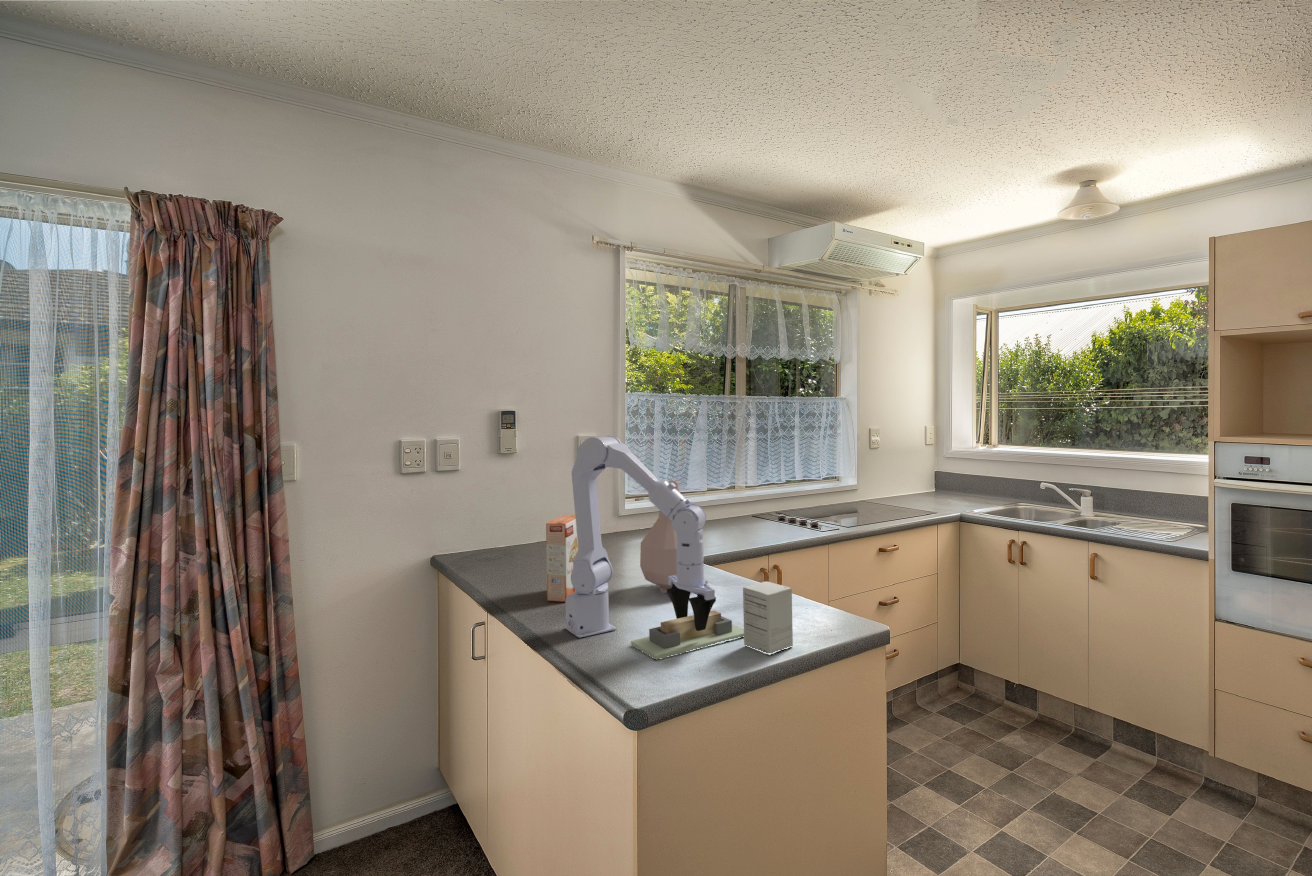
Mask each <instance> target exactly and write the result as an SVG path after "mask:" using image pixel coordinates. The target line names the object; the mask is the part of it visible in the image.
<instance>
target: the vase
mask: <svg viewBox="0 0 1312 876" xmlns="http://www.w3.org/2000/svg"><path fill="white" fill-rule="evenodd" d="M667 481H668V480H667ZM668 482H669V483H672V482H673V483H674V484H675V485H676V487H675V489H676V490H677V491H678V492H680V481H677V480H675V481H674V480H669V481H668ZM676 541H677V533H676V532H675V530H674V529H673V527H672V520H670V519H668V518H667V517H666V516H665V515H664V514H663V513H662V512H661V511H660V510H659V511H658V518H657V519H656V521H655V522H654V523H653V525H652V526H651V528H650V529H649V531H648V532H647V534H646V535H645V536H644V537H643V538H642V540H641V541H640V556H639V557H640V558H639V559H640V561H639V562H640V565H639V567H640V569H641V572H642V574H643V577H644V580H646V581H648V582H649V583H651V584H654V586H655V585H656V586H658V587H659V588H660V592H661V593H663V592H664V593H665V594H667V589H670V588H672V586H670V585H668V576H673V575H677V543H676Z"/></svg>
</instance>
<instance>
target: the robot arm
mask: <svg viewBox="0 0 1312 876" xmlns="http://www.w3.org/2000/svg"><path fill="white" fill-rule="evenodd" d="M576 452H577V453H576V458H575V460H574V464H573V467H572V469H571V483H572V493H573V495H572V496H573V505H574V515H575V517H576V528H577V539H578V551H577V553H576V555H575V557H574V560H573V571H572V573H571V583H572V585H573V587H574V588H575V589H576V592H575V593H573V594H569V595H568V596H567V597H566V602H564V603H565V626H564V629H565V630H567V631H568V632H570V634H573V635H574V636H575V637H577V638H583V637H589V636H593V635H598V634H602V633H607V632H611V631H616V630H617V627H616V626H615V625H613V624H611V623H610V614H609V613H610V611H609V609H610V608H609V607H610V605H609V581H610V580H611V579H612V577H613V575H614V570H613V566H612V563H611V562H610V559H609V555H608V551H607V550H606V548H605V547H604V546H603V543H602V533H601V521H600V520H601V519H600V509H599V508H600V507H599V498H598V497H599V496H598V488H597V487H598V485H597V477H599V476H600V474H601V473H603V472H604V470H605V469H606V468H612V469H613V468H614V469H621V470H622V471H623V472H624V473H626V474H627V475H628V476H629V477H630V478H632V480H633V481H635V482H636V483H638V484H639V486H640V487H642V488H643V489H644V490H645V491H646V492H647V494H648V500H649V502H651V504H652V505H654V506H655V507H656V508H657V509H658V510H659V512H660V511H661V512H662V513H663V514H664V515H665V516H666V517H667V518H668V519H670V520H672V527H673V529H674V530H675V532H676V533H677V541H676V543H677V575H673V576H668V585H670V586H672V588H670V589H667V593H666V594H667V595H668V597H669V599H670V601H671V603H672V606H673V609H674V613H675V619H678V618H683V617H687V616H689V615H688V613H689V603H690V605H691V609H692V613H693V615H694V622H695V628H696V630H697V631H701V630H705V629H706V625H707V621H708V617H709V613H710V611H712V608H713V606H714V604H715V603H716V601H717V597H716V595H715V594H716V591H715V589H714V588H712V587H711V586H709V585H708V582H709V581H708V579H705V575H704V574H705V573H704V572H705V571H704V569H705V568H704V567H705V565H704V539H703V538H704V536H703V535H704V534H703V533H704V529H702V528H703V527H704V526H705V524H706V522H707V514H706V512H705V510H704V509H703V508H702V506H701V505H699V504H697V503H693V501H692V500H691V499H690V498H686V497H685V496H684V495H683V494H682V493H681V492H680V491H679V492H678V491H677V490H676V489H675V487H676V485H675V484H674V483H673V482H672V483H669V482H668V480H659V479H658V478H657V477H656V476H655V475H654V474H653V473H652V472H651V471H650V470H649V469H648V467H646V465H644V463H643V462H641V461H640V460H639V458H638V457H637V456H636V455H635V454H634V453H633V452H632V451H631V449H630V448H629V447H628V446H627V445H626V444H625V443H624V442H621V440H620V439H619V438H618V437H616V436H614V435H606V436H599V437H596V436H595V437H594V436H592V437H588V438H586V439H585V440H584V441H583V442H582V443H580V445H579V446H578V447H576ZM691 593H692V594H695V595H696V596H694V597H690V596H691Z"/></svg>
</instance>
